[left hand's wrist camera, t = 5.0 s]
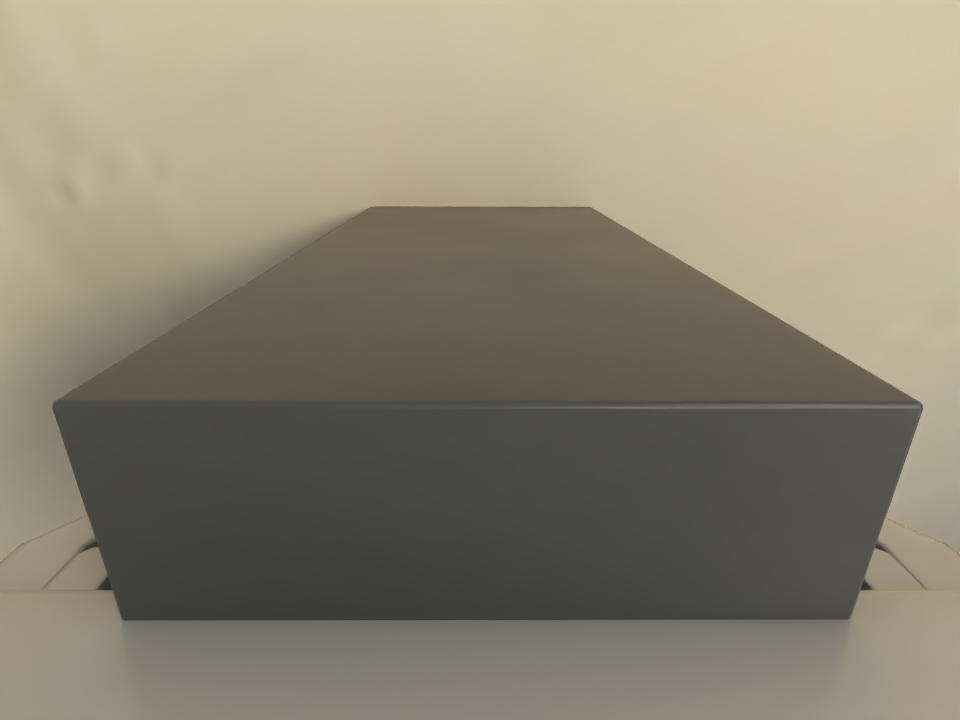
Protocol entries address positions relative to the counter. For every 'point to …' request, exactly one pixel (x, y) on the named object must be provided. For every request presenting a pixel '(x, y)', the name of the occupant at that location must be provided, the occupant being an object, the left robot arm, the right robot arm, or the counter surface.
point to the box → (486, 438)
